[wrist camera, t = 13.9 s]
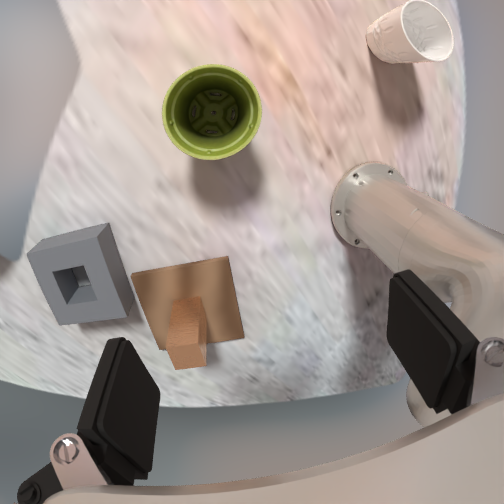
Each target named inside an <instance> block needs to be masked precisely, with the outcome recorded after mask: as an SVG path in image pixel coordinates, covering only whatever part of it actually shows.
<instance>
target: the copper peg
mask: <svg viewBox="0 0 504 504" xmlns="http://www.w3.org/2000/svg"><path fill="white" fill-rule="evenodd" d="M206 326H207V318H206V314H205V311H204V307H203V304H202V300H201V297H200V296H198V297H192V298H186V299H180V300H174V301H173V306H172V312H171V318H170V323H169V329H168V336H167V342H166V349H167V352H168V354H169V356H170V358H171V361H172V363H173V365H174V367H175V370H179V369H187V368H195V367H202V366H206Z"/></svg>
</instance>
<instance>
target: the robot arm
mask: <svg viewBox="0 0 504 504" xmlns="http://www.w3.org/2000/svg"><path fill="white" fill-rule="evenodd" d="M388 171H389V172H388ZM353 174H355V175H354V176H353ZM337 210H338V212H336V211H337ZM331 217H332V222H333V224H334V227H335V229H336V231H337V232H338V233H339V235H340V236H341V237H342V238H343V239H344V240H345V241H346V242H348V243H349V244H351V245H353V246H355V247H359V248H369V249H370V250H371V251H372V252H373V253H374V254H375V255H376V256H377V257H378V258H379V259H380V260H381V261H382V262H383V263H384V264H385V265H386V266H387V267H388V268H389V269H390V270H391V271H392V272H393V273H394V276H393V278H392V279H390V287H389V309H388V325H387V340H388V343H389V345H390V346H391V348H392V349H393V351H394V352H395V354H396V356H397V357H398V359H399V360H400V362H401V364H402V365H403V367H404V368H405V370H406V372H407V373H408V375H409V376H410V381H409V384H408V387H407V394H406V397H407V404H408V407H409V409H410V412H411V413H412V415H413V416H414V418H415V419H416V420H417V421H418V423H419V424H420V425H422V426H423V427H424V428H422V429H420V430H418V431H415V432H413V433H411V434H409V435H406V436H404V437H401V438H399V439H396V440H394V441H392V442H389V443H386V444H384V445H381V446H378V447H376V448H373V449H370V450H367V451H364V452H361V453H358V454H355V455H352V456H349V457H346V458H342V459H339V460H336V461H332V462H329V463H325V464H321V465H317V466H313V467H309V468H306V469H301V470H297V471H292V472H287V473H282V474H278V475H272V476H267V477H261V478H255V479H248V480H240V481H232V482H224V483H214V484H202V485H185V486H184V485H183V486H134V485H133V484H134V479H145V480H147V478H148V472H150V471H151V470H152V462H153V453H154V443H155V434H156V425H157V418H158V410H159V403H160V390H159V388H158V386H157V385H156V383H155V382H154V380H153V378H152V377H151V375H150V374H149V372H148V370H147V369H146V367H145V365H144V364H143V362H142V360H141V359H140V357H139V355H138V354H137V352H136V350H135V348H134V347H133V345H132V343H131V342H130V341H129V340H126V339H125V338H124V337H119V338H113V339H109V340H108V341H107V343H106V346H105V348H104V351H103V353H102V356H101V359H100V361H99V364H98V367H97V369H96V372H95V375H94V378H93V381H92V383H91V386H90V389H89V392H88V395H87V398H86V401H85V404H84V407H83V410H82V413H81V416H80V420H79V423H78V426H77V429H78V433H77V435H76V434H71V433H68V434H64V435H62V436H60V437H59V438H58V439H56V440H55V442H54V443H53V444H52V447H51V449H50V459H51V462H50V463H49V464H48V465H46V466H45V467H44V468H42V469H41V470H39V471H38V472H37V473H35V474H34V475H32V476H31V477H30V478H28V479H27V480H26V481H24V482H23V483H22V484H21V486H20V487H19V489H18V493H17V499H18V504H504V234H502V233H500V232H498V231H496V230H493V229H491V228H489V227H486V226H484V225H482V224H481V223H478V222H476V221H475V220H473V219H470V218H469V217H467V216H465V215H463V214H461V213H460V212H458V211H456V210H454V209H452V208H450V207H448V206H447V205H445V204H443V203H441V202H439V201H437V200H435V199H433V198H431V197H429V195H428V193H427V192H419V191H417V190H415V189H413V188H411V187H409V186H407V184H406V182H405V180H404V178H403V177H402V175H401V174H400V173H399V172H398V171H397V170H396V169H394V168H393V167H391V166H389V165H386V164H383V163H379V162H367V163H364V164H360V165H358V166H356V167H354V168H353V169H351V170H350V171H349V172H347V173H346V174H345V175H344V176H343V178H342V179H341V180H340V181H339V183H338V185H337V187H336V188H335V191H334V194H333V197H332V202H331ZM447 302H452V304H451V307H450V309H449V308H448V307H447V306H446V304H445V303H447ZM14 504H16V503H15V502H14Z"/></svg>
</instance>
